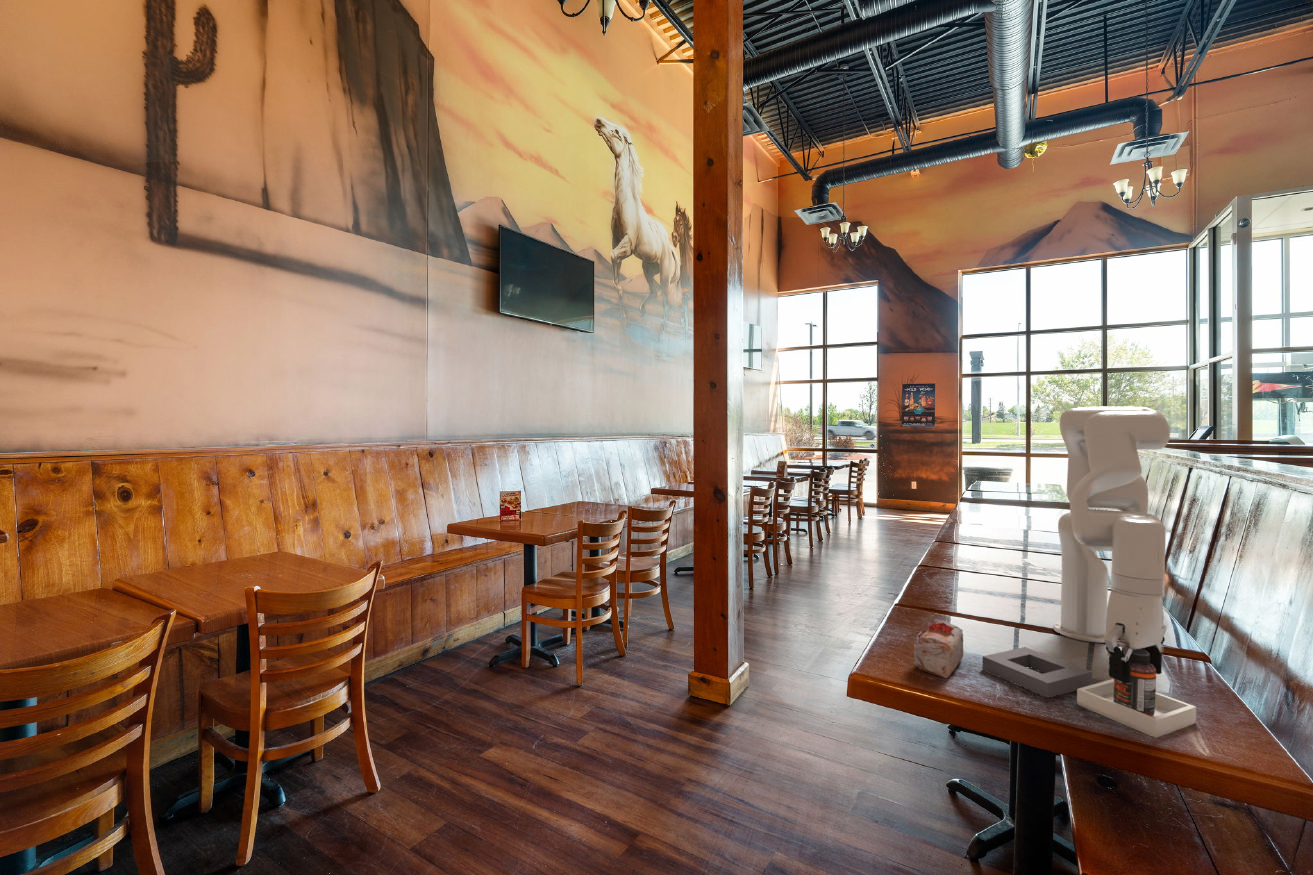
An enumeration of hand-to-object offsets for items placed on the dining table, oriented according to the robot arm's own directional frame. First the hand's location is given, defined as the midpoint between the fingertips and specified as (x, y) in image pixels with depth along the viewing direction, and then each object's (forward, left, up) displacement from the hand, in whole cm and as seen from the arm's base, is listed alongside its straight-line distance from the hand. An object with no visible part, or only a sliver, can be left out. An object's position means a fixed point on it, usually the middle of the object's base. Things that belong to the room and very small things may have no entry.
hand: (1135, 675), depth 105 cm
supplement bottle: (0, 0, -7) cm, 7 cm away
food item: (+17, -29, -7) cm, 34 cm away
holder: (+2, -17, -7) cm, 19 cm away
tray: (0, 0, -7) cm, 7 cm away
